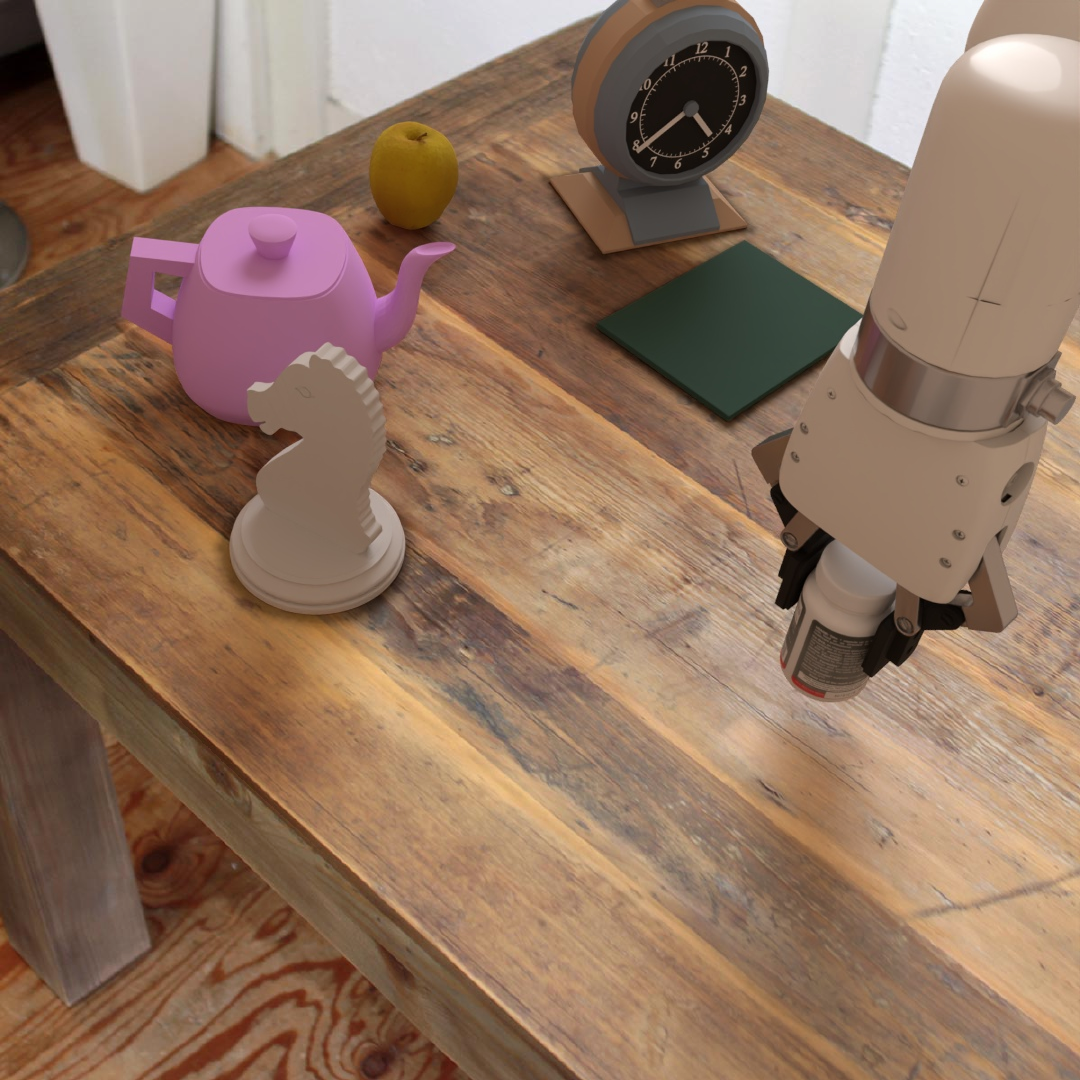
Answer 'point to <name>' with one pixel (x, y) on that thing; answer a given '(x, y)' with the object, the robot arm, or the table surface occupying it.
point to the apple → (412, 174)
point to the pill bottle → (835, 625)
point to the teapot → (267, 301)
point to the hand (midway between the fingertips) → (840, 623)
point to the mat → (732, 328)
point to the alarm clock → (662, 118)
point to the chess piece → (319, 492)
